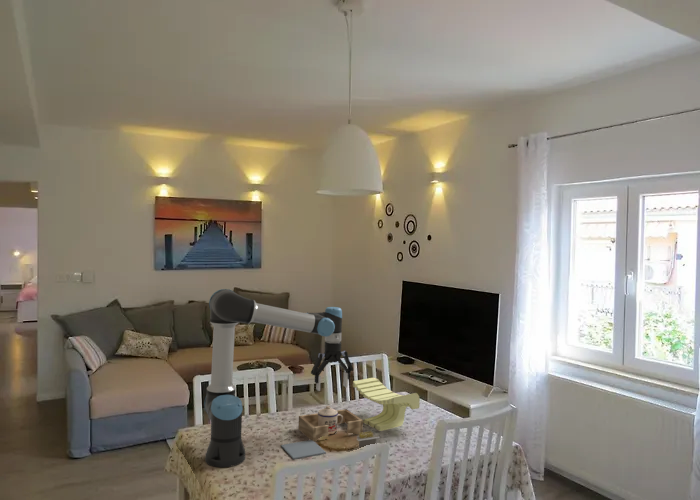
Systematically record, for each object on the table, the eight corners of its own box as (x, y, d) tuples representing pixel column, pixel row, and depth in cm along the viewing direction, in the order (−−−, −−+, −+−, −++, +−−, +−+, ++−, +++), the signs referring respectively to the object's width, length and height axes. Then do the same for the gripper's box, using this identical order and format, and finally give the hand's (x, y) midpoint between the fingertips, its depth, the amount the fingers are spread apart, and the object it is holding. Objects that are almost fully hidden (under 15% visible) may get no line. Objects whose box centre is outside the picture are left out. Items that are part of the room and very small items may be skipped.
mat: (293, 459, 200) (293, 458, 200) (281, 446, 213) (281, 444, 213) (325, 453, 207) (325, 452, 207) (312, 441, 219) (312, 439, 219)
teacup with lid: (322, 436, 224) (322, 410, 224) (314, 429, 232) (314, 404, 232) (346, 433, 230) (347, 407, 229) (338, 426, 238) (338, 401, 237)
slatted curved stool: (418, 430, 236) (419, 391, 236) (392, 437, 226) (394, 397, 226) (377, 411, 260) (378, 376, 260) (352, 417, 250) (353, 381, 250)
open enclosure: (312, 442, 218) (313, 428, 218) (298, 429, 233) (298, 415, 232) (362, 433, 229) (363, 420, 229) (346, 421, 244) (346, 409, 244)
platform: (341, 445, 216) (341, 430, 216) (378, 440, 224) (379, 425, 224) (353, 457, 205) (353, 440, 205) (392, 450, 213) (392, 435, 213)
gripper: (310, 345, 221) (309, 393, 222) (361, 341, 233) (360, 387, 233) (304, 342, 228) (303, 389, 228) (353, 338, 239) (352, 383, 240)
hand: (331, 388), depth 231 cm, fingers open, 13 cm apart
